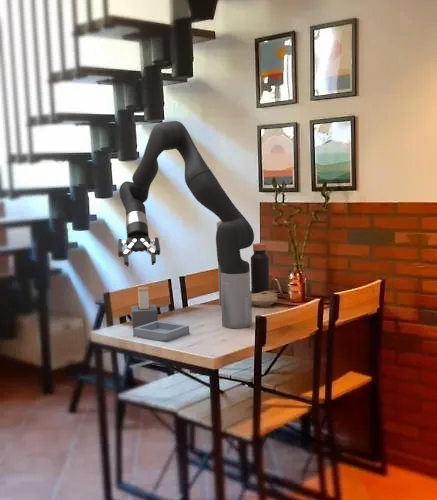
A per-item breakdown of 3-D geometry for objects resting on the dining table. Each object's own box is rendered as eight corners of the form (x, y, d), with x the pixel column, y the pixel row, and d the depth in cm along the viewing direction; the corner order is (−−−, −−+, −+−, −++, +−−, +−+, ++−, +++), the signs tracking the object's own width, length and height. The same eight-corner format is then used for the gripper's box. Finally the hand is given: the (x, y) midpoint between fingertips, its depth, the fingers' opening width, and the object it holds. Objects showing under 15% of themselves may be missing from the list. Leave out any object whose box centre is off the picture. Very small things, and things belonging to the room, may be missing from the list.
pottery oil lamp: (241, 302, 252) (248, 284, 253) (272, 314, 250) (279, 296, 251) (239, 299, 243) (247, 280, 244) (271, 311, 241) (279, 292, 242)
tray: (189, 333, 212) (189, 325, 211) (166, 342, 203) (165, 333, 202) (156, 328, 219) (156, 320, 219) (133, 336, 210) (132, 328, 210)
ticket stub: (148, 313, 226) (147, 286, 225) (149, 316, 223) (148, 289, 221) (139, 314, 226) (137, 287, 225) (139, 317, 222) (138, 289, 221)
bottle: (272, 296, 263) (271, 244, 261) (257, 298, 260) (256, 245, 257) (263, 293, 269) (262, 242, 266) (248, 295, 266) (246, 244, 263)
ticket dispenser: (155, 320, 230) (155, 304, 229) (158, 327, 221) (157, 310, 220) (131, 322, 228) (130, 305, 228) (132, 328, 220) (132, 311, 219)
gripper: (116, 221, 239) (118, 258, 229) (157, 219, 241) (161, 256, 231) (116, 234, 244) (119, 272, 235) (157, 233, 247) (161, 269, 237)
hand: (140, 264), depth 233 cm, fingers open, 8 cm apart
